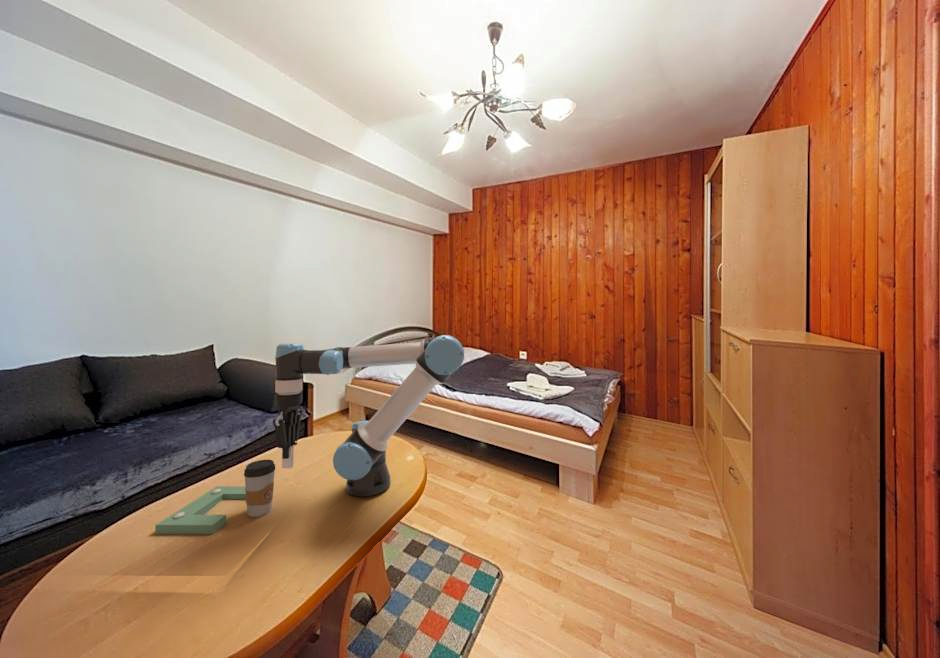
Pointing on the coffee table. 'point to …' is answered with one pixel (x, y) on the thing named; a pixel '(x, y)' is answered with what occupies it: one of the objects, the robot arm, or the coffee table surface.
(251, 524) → the coffee table surface
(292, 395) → the robot arm
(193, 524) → the mint green u-shaped piece
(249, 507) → the coffee cup
